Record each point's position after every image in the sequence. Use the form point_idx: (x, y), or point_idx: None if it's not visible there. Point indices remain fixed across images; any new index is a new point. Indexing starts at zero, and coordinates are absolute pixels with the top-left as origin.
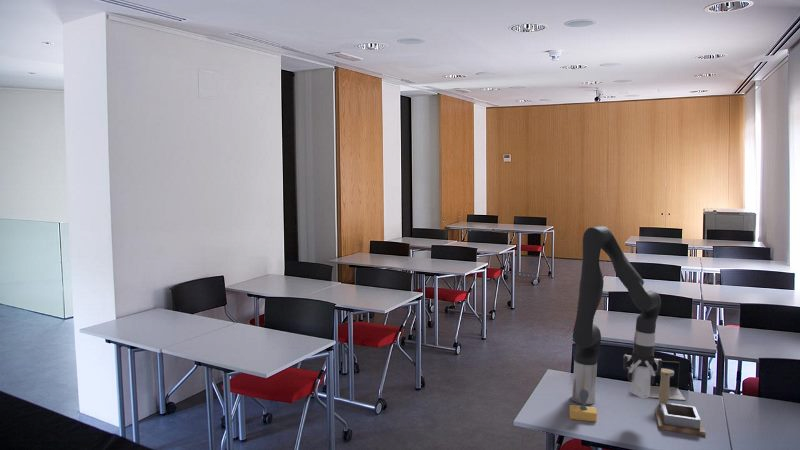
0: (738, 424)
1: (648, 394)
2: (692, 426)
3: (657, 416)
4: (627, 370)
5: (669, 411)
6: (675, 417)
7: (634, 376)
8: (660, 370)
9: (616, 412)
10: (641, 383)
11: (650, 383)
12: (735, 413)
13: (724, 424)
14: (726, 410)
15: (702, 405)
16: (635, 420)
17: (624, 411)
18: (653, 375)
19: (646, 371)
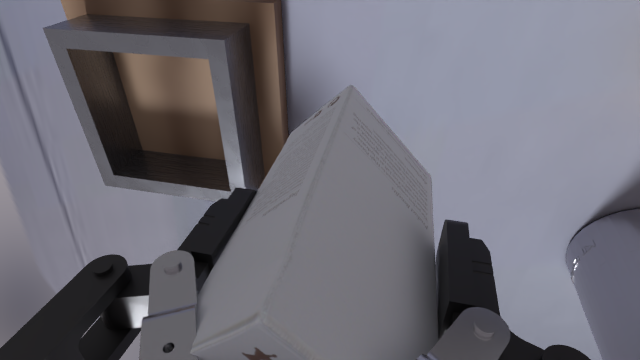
0: (9, 146)
1: (295, 134)
2: (108, 19)
3: (279, 120)
4: (520, 349)
5: (223, 166)
6: (168, 33)
7: (410, 271)
8: (51, 308)
9: (482, 151)
10: (342, 167)
11: (250, 196)
12: (43, 222)
13: (45, 135)
14: (70, 237)
15: (137, 260)
16: (395, 79)
17: (433, 170)
18: (179, 257)
19: (238, 291)
